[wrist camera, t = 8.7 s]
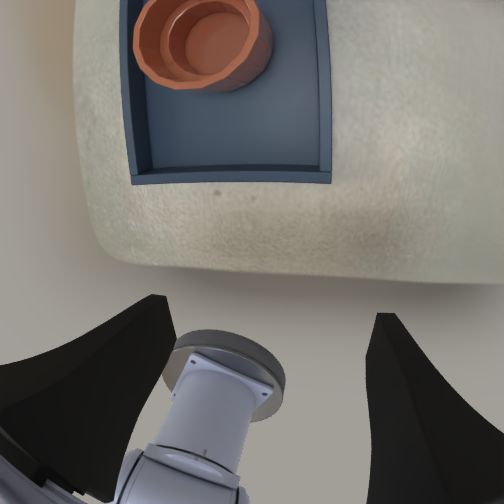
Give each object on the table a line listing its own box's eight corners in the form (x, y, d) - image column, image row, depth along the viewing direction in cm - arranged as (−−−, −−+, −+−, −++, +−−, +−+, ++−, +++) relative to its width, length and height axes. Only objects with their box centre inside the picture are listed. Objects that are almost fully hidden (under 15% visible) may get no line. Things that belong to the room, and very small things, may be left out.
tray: (329, 174, 16) (331, 184, 14) (150, 176, 18) (131, 185, 16) (315, -60, 9) (314, -78, 7) (140, -30, 12) (122, -40, 10)
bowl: (248, 108, 15) (223, 108, 11) (161, 75, 15) (116, 71, 11) (291, 20, 12) (281, -9, 8) (199, -7, 12) (163, -33, 8)
